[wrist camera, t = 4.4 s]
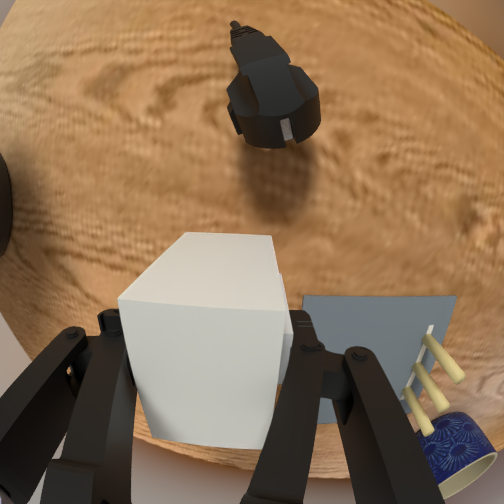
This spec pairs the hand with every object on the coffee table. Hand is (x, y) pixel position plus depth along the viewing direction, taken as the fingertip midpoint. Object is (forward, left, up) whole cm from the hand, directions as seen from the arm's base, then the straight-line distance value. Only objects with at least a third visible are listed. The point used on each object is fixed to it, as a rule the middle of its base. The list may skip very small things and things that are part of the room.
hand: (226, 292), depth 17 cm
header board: (+14, -10, -6) cm, 18 cm away
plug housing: (0, 0, 0) cm, 0 cm away
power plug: (0, +18, -8) cm, 20 cm away
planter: (+30, -25, -6) cm, 39 cm away
